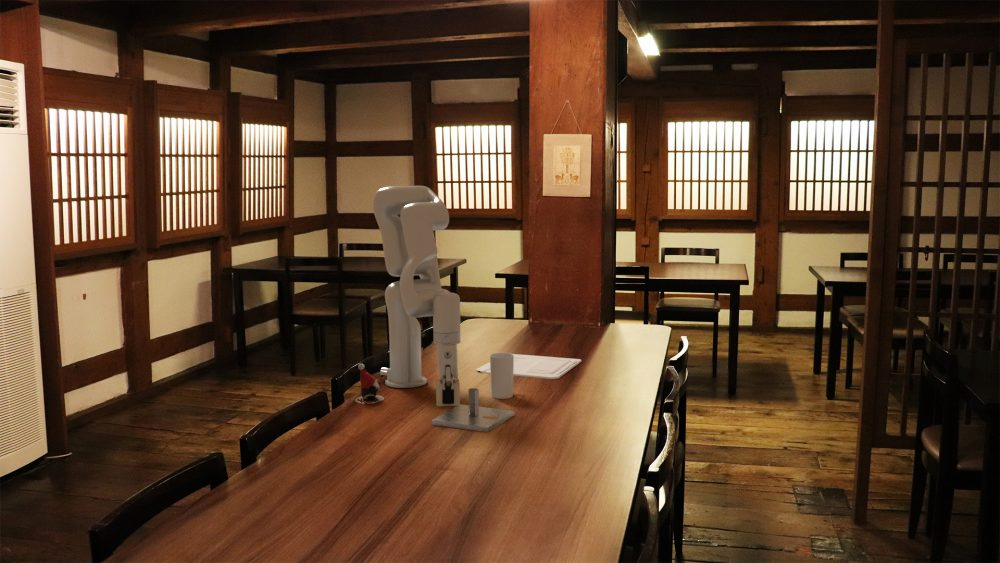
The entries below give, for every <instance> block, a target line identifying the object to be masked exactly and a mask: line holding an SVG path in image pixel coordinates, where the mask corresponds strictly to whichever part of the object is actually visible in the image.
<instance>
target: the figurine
mask: <svg viewBox="0 0 1000 563" xmlns="http://www.w3.org/2000/svg"><path fill="white" fill-rule="evenodd" d="M357 367H358V368H357V369H358V370H360V373H359V382H360V387H361V388H360V392H361V396H358V397H356V398H355V399H354V401H355V402H356V403H358V404H362V405H363V404H365V403H364V402H362V403H361V402H360V401H358V399H359V400H361V399H362V401H366V402H367V404H369V405H370V404H376V403H379V402H380V403H381V402H383V401H385V397H384V396H381V395H377V394H378V393H379V392H380V389H381V388H380V385H379V382H378V380H377V378H376V376H373V375H371V374H370V373H369V372H368V371H366V369H365V364H363V363H359V364H358V366H357ZM366 397H368V398H366ZM370 398H371V399H370ZM373 398H374V399H373Z"/></svg>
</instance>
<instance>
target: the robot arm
mask: <svg viewBox="0 0 1000 563" xmlns="http://www.w3.org/2000/svg"><path fill="white" fill-rule="evenodd" d="M372 208H373V209H372V210H373V214H374V217H375V220H376V223H377V226H378V228H379V230H380V233H381V234H380V235H381V241H382V248H383V250H382V251H383V257H384V262H385V268H386V272H387V273H388V274H389V275H390V276H392V277H400V279H399V280H397V281H394V282H391V283H390V284H388V286H387V287H386V288H385V292H384V299H385V305H386V310H387V316H388V334H389V336H388V338H389V339H388V340H389V368H388V367H381V368H380V370H379V371H380V372H379V374H380V375H382V376H386V379H385V382H384V384H385V385H386V386H388V387H390V388H396V389H410V388H418V387H421V386H424V385H426V384H427V383H428V380H427V379H428V378H427V377H426V376H422V337H421V336H422V335H421V331H422V330H421V324H420V322H419V320H418V319H417V318H423V317H424V318H426V317H432V321H433V322H432V324H433V325H432V327H433V328H432V331H433V333H432V334H433V336H432V337H433V339H432V340H433V341H432V342H433V344H435V345H437V355H438V356H437V358H438V359H437V360H438V361H437V362H438V370H439V377H440V378H439V379H442V380H443V390H442V402H443V404H454V389H453V379H456V380H457V379H459V368H458V367H459V364H458V361H459V359H458V358H459V357H458V344H461V343H462V342H461V298H460V295H459V294H458V293H455V292H451V291H449V290H447V289H445V288H442V284H441V277H440V269H439V262H438V257H437V255H438V252H439V251H438V246H437V243H436V239H435V234H434V231H443V230H445V229H446V228H447V227H448V225H449V223H450V214H449V211H448V208H447V206H446V205H445V203H444V202H443V200H442V199H441V198H440V197H439V196H438V195H437V194H436V193H435V192H434V191H433V190H432V189H431V188H430V187H428V186H425V185H391V186H384V187H382V188H379V189H378V190H376V192H375V194H374V196H373V201H372ZM415 276H419V278H420V279H418V278H417V279H414V277H415ZM445 381H446V382H445Z"/></svg>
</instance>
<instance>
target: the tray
mask: <svg viewBox="0 0 1000 563" xmlns="http://www.w3.org/2000/svg"><path fill="white" fill-rule="evenodd" d="M512 354H513V355H514V366H513V377H521V378H522V377H523V378H534V379H544V380H557V379H560V378H561V377H563V376H564V375H565V374H567V373H568V372H569V371H571V370H573V368H574V367H576V366H577V365H579V364H580V363H582V359H580V358H568V357H554V356H545V355H544V356H542V355H531V354H530V355H529V354H518V353H517V354H516V353H512ZM478 371H480V373H481V374H488V373H489V375H491V370H490V361H488V362H487V363H485V364H483V365H481V366H479V367H478V368H476V369H475V372H478Z"/></svg>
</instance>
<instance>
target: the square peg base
mask: <svg viewBox="0 0 1000 563" xmlns="http://www.w3.org/2000/svg"><path fill="white" fill-rule="evenodd" d="M479 390H480V389H478V388H476V387H471V388H468V404H461V403H460V405H458V406H455V407H453V408H451V409H449V410H447V411H445V412H444V413H441V415H438V416H436V417H435V418H433V419H431V425H432V426H439V427H447V428H455V429H459V430H460V429H461V430H468V431H474V432H483V433H489V432H491V431H493V429H495V428H497V427H498V426H500V425H501V424H503V423H504V422H506V421H507V420H509V419H510V418H512V417H513V416H515V410H510V409H501V408H493V407H484V406H480V402H479V401H480V396H479V394H480V393H479V392H480V391H479Z"/></svg>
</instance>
